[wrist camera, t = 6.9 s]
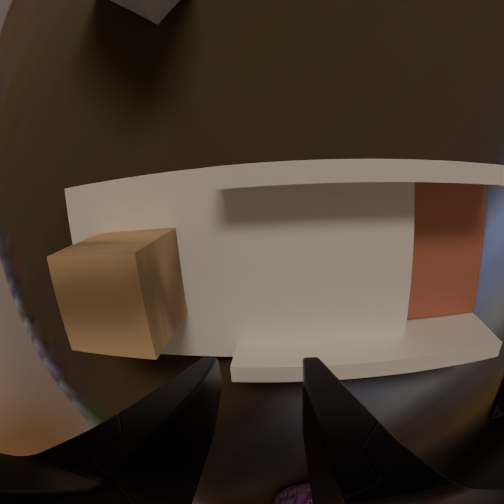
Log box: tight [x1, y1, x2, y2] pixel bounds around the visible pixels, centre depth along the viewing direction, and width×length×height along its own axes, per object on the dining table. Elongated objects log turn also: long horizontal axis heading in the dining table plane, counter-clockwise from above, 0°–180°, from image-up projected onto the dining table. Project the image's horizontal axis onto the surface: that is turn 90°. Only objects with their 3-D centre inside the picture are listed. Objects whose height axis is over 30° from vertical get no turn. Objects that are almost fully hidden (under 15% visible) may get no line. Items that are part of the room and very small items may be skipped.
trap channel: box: [65, 159, 504, 382], centre depth 17 cm, size 11×26×4 cm, turn 94°
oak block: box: [47, 228, 188, 360], centre depth 16 cm, size 5×5×5 cm
